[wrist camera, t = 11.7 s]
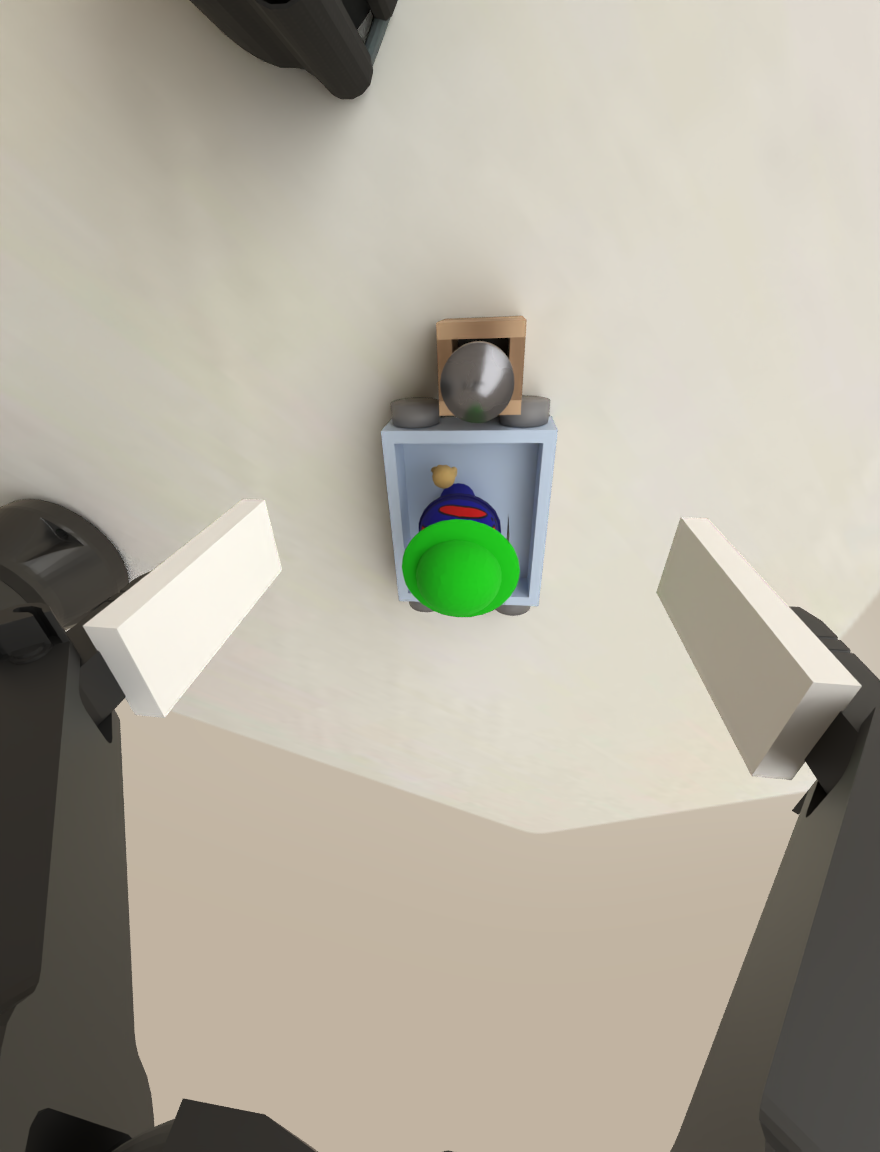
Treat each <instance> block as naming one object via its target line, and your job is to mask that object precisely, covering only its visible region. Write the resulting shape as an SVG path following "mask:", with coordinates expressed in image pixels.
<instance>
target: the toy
mask: <svg viewBox="0 0 880 1152" xmlns="http://www.w3.org/2000/svg"><path fill="white" fill-rule="evenodd" d="M431 472H432V473H433V475H432V478H433V482H434V484H435V485H436V486H437V487H439V488H442V489H444V490H443V492H442V493H441V496H440V497H439V498H437V499H436V500H434V501H432V502H431V503H430V504H429V505H428V506H427V507H426V508H425V509H424V511H423V513H422V515H421V517H420V520H419V533H417V534H416V535H415V536H414V537H413V538H412V540H411V541H410V542H409V544H408V546H407V547H406V549H405V552H404V555H403V559H402V572H403V577H404V580H405V584H406V586H407V587H408V589H409V590H410V592H411V593H412V594H413V596H414V597H415V598H416V599H417V600H418V601H419V602H420V603H422V604H423V605H424V606H426V607H428V608H430V609H431V610H433V611H435V612H438V613H441V614H443V615H448V616H454V617H472V616H477V615H482V614H485V613H488V612H490V611H493V610H494V609H496V608H498V607H499V606H501V605H502V604H503V603H504V602H505V601H506V600H507V599H508V598H509V597H510V596H511V595H512V593H513V591H514V590H515V588H516V586H517V583H518V580H519V574H520V568H519V560H518V557H517V555H516V552H515V550H514V548H513V546H512V545H511V544H510V542H509V517H508V526H507V539H506V538H505V537H504V536H503V535H502V534H501V524H500V519H499V517H498V515H497V513H496V511H495V510H494V508H493V507H492V506H491V505H490V504H489V503H488V502H486V501H484V500H483V499H481V498H479V497H476V496H475V494H474V492H473V490H472V489H471V488H470V487H469V486H467V485H465V484H461V483H456V484H453V483H454V481H455V477H456V476H457V468H456V467H452V468H451V467H449V466H448V465H437V467H436V466H435V467H432V469H431Z"/></svg>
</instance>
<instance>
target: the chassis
mask: <svg viewBox="0 0 880 1152" xmlns="http://www.w3.org/2000/svg"><path fill="white" fill-rule="evenodd" d="M549 409H550V399H548V398H545V397H539V396H522V400H521V415H499V417H495V418H493V419H491V420H489V421H486V422H482V423H471V422H466V421H463V420H461V419H459V418H458V417H443V418H439V400H437V399H434V398H424V397H417V398H405V399H399V400H395V401H393V402H391V412H392V419H391V420H390V421H389V422H388V424H387V425H386V426H385V427H384V428H383V429H382V431H381V437H382V446H383V456H384V465H385V474H386V483H387V493H388V502H389V511H390V521H391V530H392V539H393V548H394V558H395V567H396V576H397V586H398V595H399V601H409V604H410V606H411V607H412V608H413V609H415V610H417V611H420V612H432V611H433V610H431V609H430V608H428V607H426V606H424V605H423V604H422V603H420V602H419V601H418V600H417V599H416V598H415V597H414V596H413V594H412V593H411V592H410V590H409V589H408V587H407V586H406V584H405V580H404V577H403V572H402V559H403V555H404V552H405V549H406V547H407V546H408V544H409V542H410V541H411V540H412V538H413V537H414V536H415V535H416V534H417V533H419V520H420V517H421V515H422V513H423V511H424V509H425V508H426V507H427V506H428V505H429V504H430V503H431V502H432V501H434V500H436V499H437V498H439V497H440V496H441V493H442V492H443V490H444V489H442V488H439V487H437V486H436V485H435V484H434V482H433V478H432V475H433V473H432V472H431V469H432V467H435V466H436V467H437V465H448V466H449V467H451V468H452V467H456V468H457V476H456V477H455V481H454V483H453V484H456V483H461V484H465V485H467V486H469V487H470V488H471V489H472V490H473V492H474V494H475V496H476V497H479V498H481V499H483V500H484V501H486V502H488V503H489V504H490V505H491V506H492V507H493V508H494V510H495V511H496V513H497V515H498V517H499V519H500V524H501V534H502V535H503V536H504V537H505V538H506V539H507V526H508V517H509V542H510V544H511V545H512V546H513V548H514V550H515V552H516V555H517V557H518V560H519V568H520V574H519V580H518V583H517V586H516V588H515V590H514V591H513V593H512V595H511V596H510V597H509V598H508V599H507V600H506V601H505V602H504V603H503V604H502V605H501V606H499V607H498V608H496V609H495V610H497V611H498V612H500V613H502V614H505V615H511V616H515V615H521V614H524V613H526V612H527V611H528V610H529V609H530V606H539V597H540V588H541V579H542V570H543V561H544V552H545V542H546V533H547V524H548V515H549V506H550V497H551V487H552V478H553V469H554V460H555V451H556V442H557V432H558V429H557V427H556V425H555V423H554V420H553V418H552V416H549Z"/></svg>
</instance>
